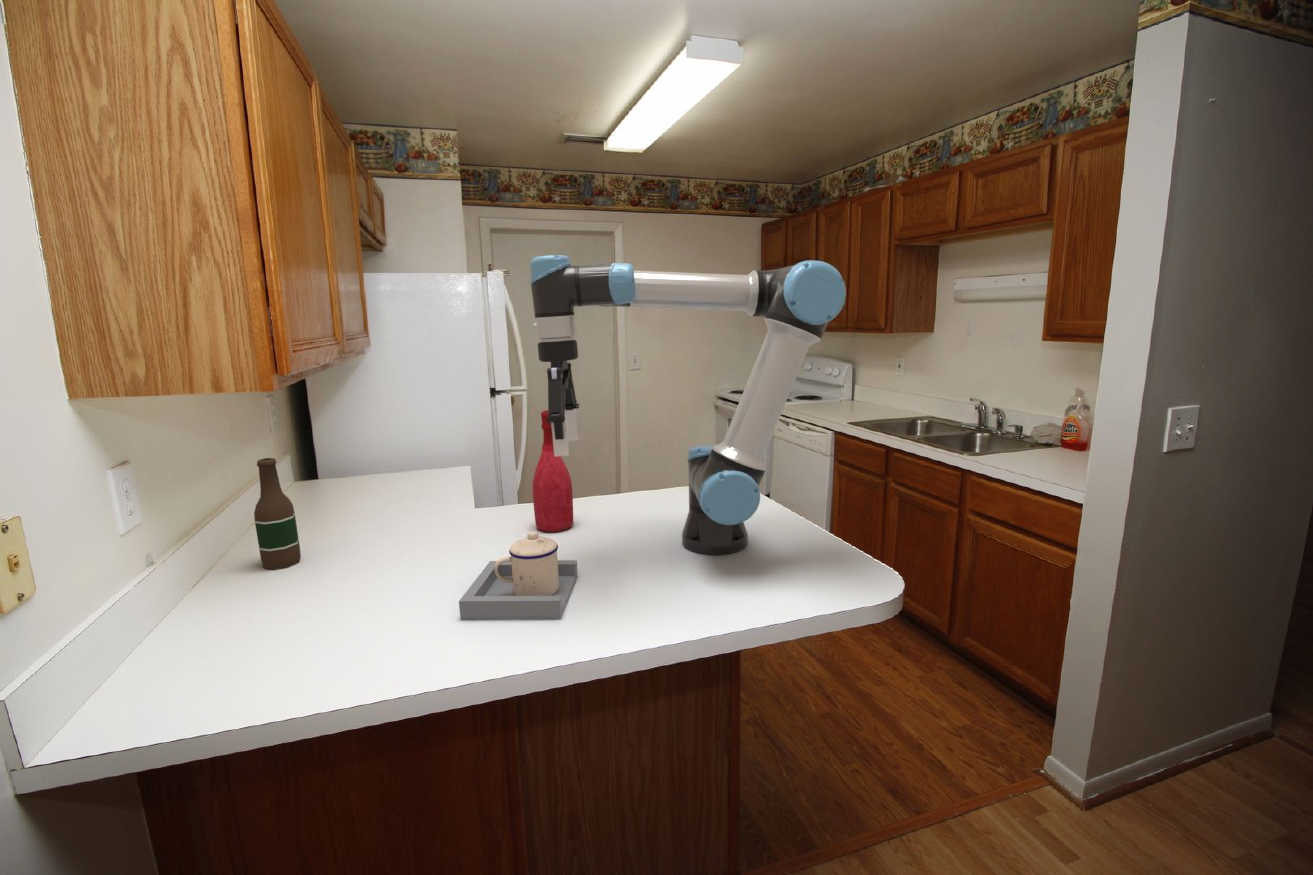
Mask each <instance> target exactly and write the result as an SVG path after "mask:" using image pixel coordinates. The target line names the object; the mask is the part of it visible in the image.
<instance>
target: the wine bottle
mask: <svg viewBox="0 0 1313 875" xmlns="http://www.w3.org/2000/svg"><path fill="white" fill-rule="evenodd" d="M540 418H541V427H540V428H541V429H542V432H543V433H542V434H543V438H542V440H543V441H542V442H543V443H542V445H541V454H540V456H539V459H538V462H537V464H536V468H535V471H534V474H533V478H532V500H533V501H532V502H533V512H534V521H535V526H536V528H537V529H538V530H540V531H542V532H546V533H556V532H563V531H565V530H568V529H569V528H571V527H572V526H573V525H574V499H573V498H574V496H573V495H574V494H573V484H572V479H571V475H570V473H569V470H568V467H567V465H566V464H565V462H564V460H563V457H562V456H554V446H553V436H552V426H551V423H547V420H546V418H548V410H547V409H546V410H542V412H540Z"/></svg>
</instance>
